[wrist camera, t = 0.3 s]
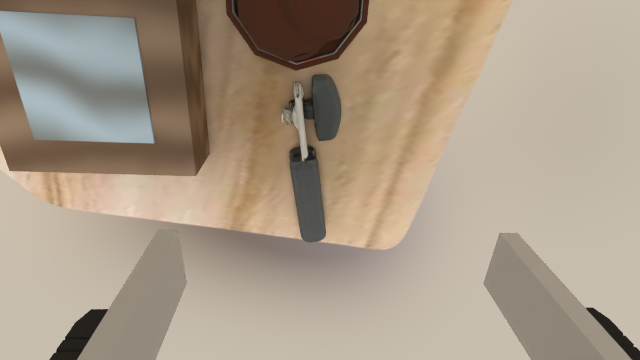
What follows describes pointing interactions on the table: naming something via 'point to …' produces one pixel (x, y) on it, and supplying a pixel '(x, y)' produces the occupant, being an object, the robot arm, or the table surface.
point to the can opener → (311, 151)
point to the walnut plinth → (102, 87)
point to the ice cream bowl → (298, 28)
